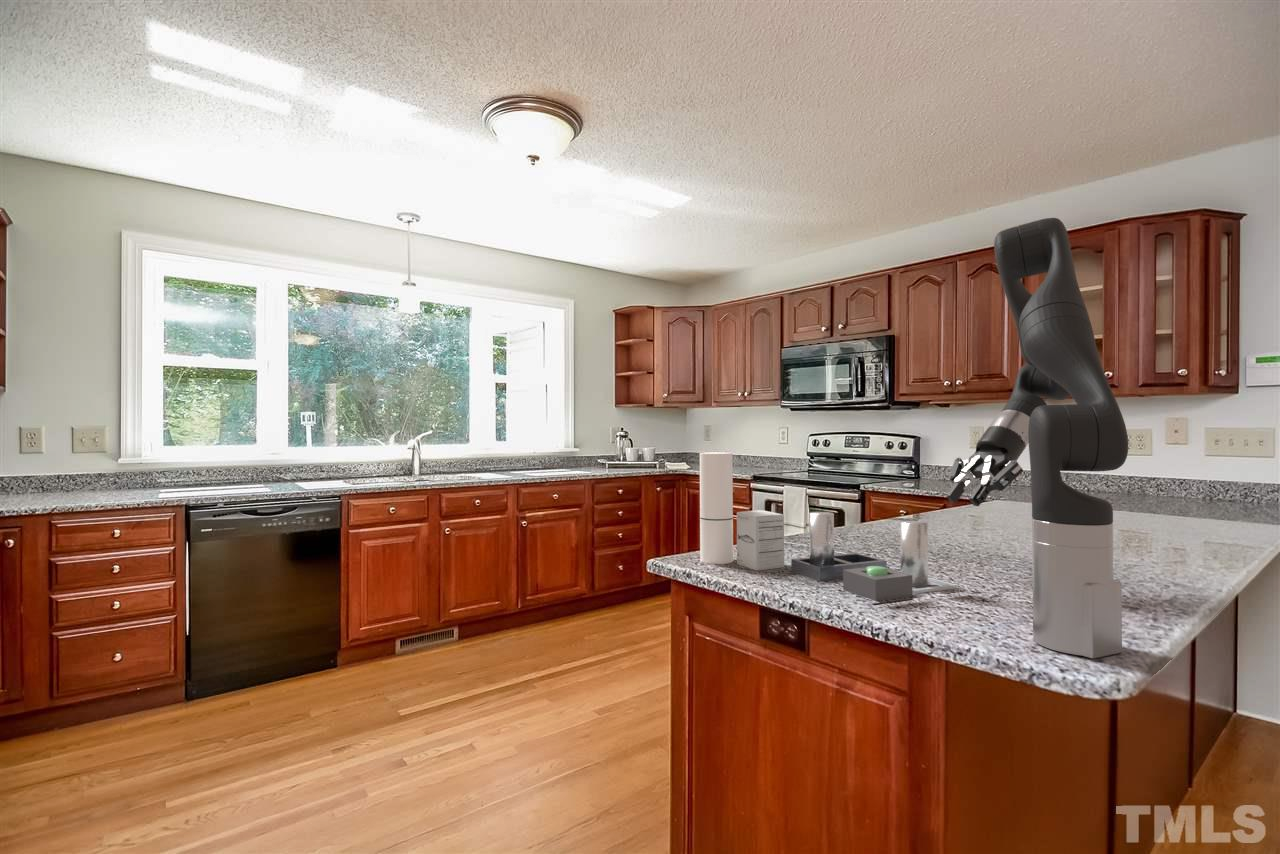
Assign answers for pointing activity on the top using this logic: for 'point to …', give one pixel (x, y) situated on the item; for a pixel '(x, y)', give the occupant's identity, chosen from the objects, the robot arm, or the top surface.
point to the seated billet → (821, 538)
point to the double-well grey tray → (834, 566)
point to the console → (878, 585)
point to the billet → (914, 551)
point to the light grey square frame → (936, 588)
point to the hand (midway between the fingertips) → (962, 501)
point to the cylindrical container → (716, 508)
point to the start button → (877, 570)
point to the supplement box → (760, 539)
